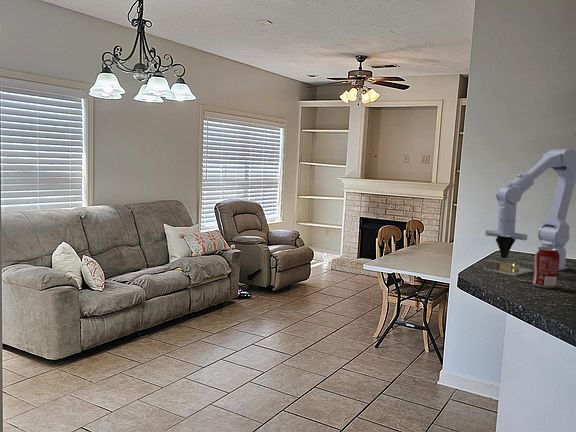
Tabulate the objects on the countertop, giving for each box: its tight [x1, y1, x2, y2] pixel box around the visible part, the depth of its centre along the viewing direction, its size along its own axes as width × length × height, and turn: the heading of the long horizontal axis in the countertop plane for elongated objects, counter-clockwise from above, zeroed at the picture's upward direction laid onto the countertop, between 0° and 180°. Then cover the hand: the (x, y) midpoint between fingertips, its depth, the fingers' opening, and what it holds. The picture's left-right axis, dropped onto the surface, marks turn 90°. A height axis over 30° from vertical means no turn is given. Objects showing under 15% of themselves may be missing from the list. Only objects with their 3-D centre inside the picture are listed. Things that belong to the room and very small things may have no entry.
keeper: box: [485, 260, 507, 272], centre depth 181 cm, size 4×7×2 cm, turn 41°
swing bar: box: [486, 259, 521, 272], centre depth 179 cm, size 11×2×3 cm, turn 43°
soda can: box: [532, 246, 560, 289], centre depth 158 cm, size 7×7×12 cm
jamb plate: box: [482, 266, 534, 277], centre depth 182 cm, size 13×12×1 cm
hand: (504, 257), depth 184 cm, fingers closed
